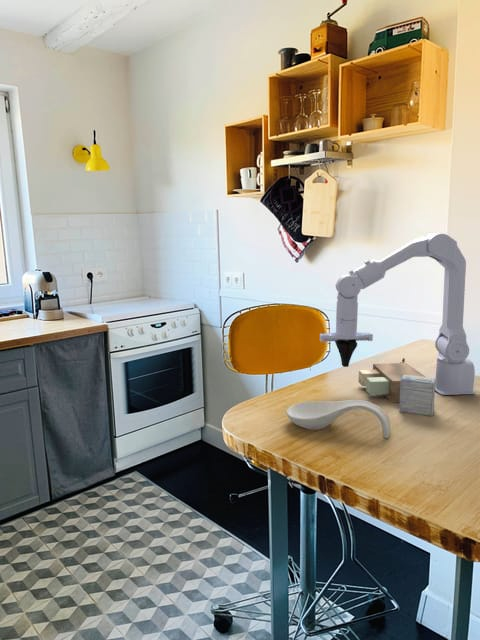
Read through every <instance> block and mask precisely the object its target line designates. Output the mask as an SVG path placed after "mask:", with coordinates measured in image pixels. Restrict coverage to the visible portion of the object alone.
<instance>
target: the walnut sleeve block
mask: <svg viewBox="0 0 480 640" xmlns="http://www.w3.org/2000/svg"><path fill="white" fill-rule="evenodd" d="M372 370H378V371H379V372H380V373H381V375H380V377H386V378H387V379H388V380H390V381H389V394H383V395H384V397H386V398H387V399H388V400H389V401H390V402H391V403H400V388H401V379H402V377H403V375H413V376H422V377H426V375H424V374H423V373H421V372H420V371H418V370H417V369H415V368H414V367H412V366H411V365H410V364H409V363H408V362H406V363H405V362H404V363H402V362H401V363H400V362H399V363H398V362H396V363H394V362H393V363H390V362H389V363H373V364H372Z"/></svg>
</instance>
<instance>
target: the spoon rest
mask: <svg viewBox="0 0 480 640" xmlns="http://www.w3.org/2000/svg"><path fill="white" fill-rule="evenodd" d="M354 409H355V410H356V409H360V410H366V411H367V412H370V413H372V414H373V415H375V417H376V418H377V419H378V420H379V422H380V424H381V429H382V436H383V438H384V439H389V436H390V433H391V422H390V420H389V417H388V415H387V414H386V412H385V411H384V410H383V409H382V408H381V407H379V406H378V405H377V404H374V403H372V402H370V401H368V400H363V399H346V400H337V401H336V400H335V401H334V400H333V401H332V400H331V401H324V400H321V401H319V400H318V401H316V400H315V401H303V402H298V403H295V404H293V405H291V406H289V407H288V409H287V410H286V412H285V414H286V416H287V417H288V419H289V420H290V421H291V422H292V423H293V424H294V425H296V426H298V427H302V428H303V429H306V430H315V431H316V430H323V429H325V428H327V426H330V424H332V423H333V422H334V421H335V420H336V419H338V418H339V417H340V416H343V414H345V413H348V412H349V411H351V410H354Z"/></svg>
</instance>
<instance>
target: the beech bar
mask: <svg viewBox="0 0 480 640" xmlns="http://www.w3.org/2000/svg"><path fill="white" fill-rule="evenodd" d="M380 375H381V373H380V372H379V371H378V370H373V369H359V370H358V384H360V386H362V387H366V378H370V377H380Z"/></svg>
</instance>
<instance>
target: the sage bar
mask: <svg viewBox="0 0 480 640" xmlns="http://www.w3.org/2000/svg"><path fill="white" fill-rule="evenodd" d="M389 381H390V380H388V379H387V378H386V377H370V378H366V386H365V391H366V392H367V393H368V394H369V395H373V396H374V395H384V394H389Z"/></svg>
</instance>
